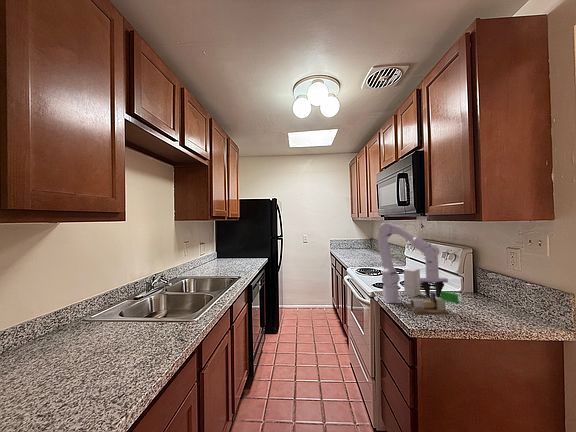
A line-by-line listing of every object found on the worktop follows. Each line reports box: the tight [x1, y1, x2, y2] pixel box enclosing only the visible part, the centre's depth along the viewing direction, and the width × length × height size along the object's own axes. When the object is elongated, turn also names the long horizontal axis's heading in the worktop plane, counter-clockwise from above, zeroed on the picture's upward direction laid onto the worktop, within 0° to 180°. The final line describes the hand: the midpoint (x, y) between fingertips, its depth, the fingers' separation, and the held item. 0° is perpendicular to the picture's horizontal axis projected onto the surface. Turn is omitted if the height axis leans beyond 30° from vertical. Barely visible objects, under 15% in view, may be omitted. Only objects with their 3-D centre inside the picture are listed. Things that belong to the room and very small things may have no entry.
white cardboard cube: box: [410, 298, 425, 309], centre depth 138 cm, size 4×5×4 cm
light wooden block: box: [423, 291, 437, 307], centre depth 138 cm, size 3×8×7 cm, turn 88°
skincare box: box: [403, 267, 421, 298], centre depth 166 cm, size 8×7×16 cm
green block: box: [440, 290, 459, 304], centre depth 153 cm, size 11×4×5 cm, turn 27°
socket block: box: [435, 296, 446, 310], centre depth 138 cm, size 7×4×5 cm, turn 178°
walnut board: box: [406, 303, 449, 315], centre depth 138 cm, size 12×15×1 cm
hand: (432, 296), depth 138 cm, fingers open, 4 cm apart
